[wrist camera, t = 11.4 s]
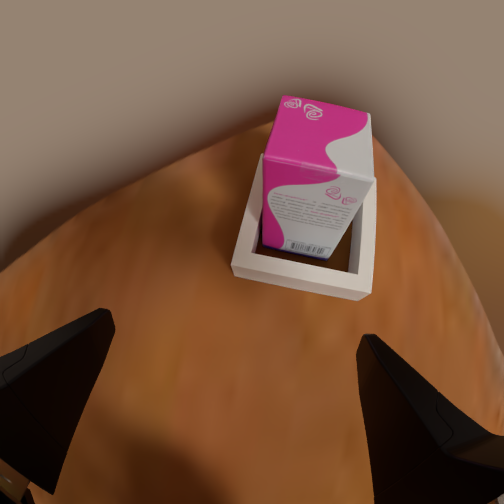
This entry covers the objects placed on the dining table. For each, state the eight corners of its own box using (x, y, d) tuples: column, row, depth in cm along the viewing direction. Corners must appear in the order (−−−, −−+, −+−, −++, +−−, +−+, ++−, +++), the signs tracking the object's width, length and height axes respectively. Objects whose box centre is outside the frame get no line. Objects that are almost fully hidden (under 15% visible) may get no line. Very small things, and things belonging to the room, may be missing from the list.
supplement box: (335, 203, 25) (374, 112, 14) (327, 262, 23) (377, 187, 12) (274, 189, 25) (281, 90, 15) (260, 247, 23) (259, 160, 13)
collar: (357, 300, 22) (371, 293, 19) (234, 276, 23) (230, 264, 20) (365, 195, 25) (375, 177, 22) (261, 173, 26) (261, 153, 23)
